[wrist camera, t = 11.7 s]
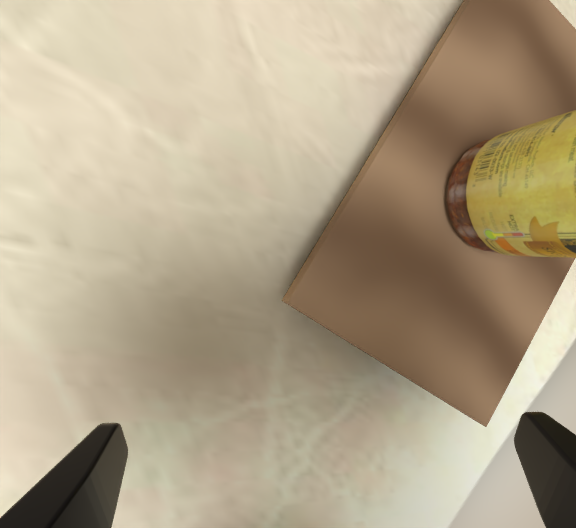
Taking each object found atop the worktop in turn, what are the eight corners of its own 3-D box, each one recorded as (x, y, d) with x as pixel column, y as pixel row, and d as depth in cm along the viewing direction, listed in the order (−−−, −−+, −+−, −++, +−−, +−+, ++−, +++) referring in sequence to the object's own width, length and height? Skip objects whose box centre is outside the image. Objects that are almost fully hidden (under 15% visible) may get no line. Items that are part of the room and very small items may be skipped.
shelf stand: (451, 406, 27) (486, 427, 24) (271, 295, 23) (287, 303, 20) (603, 125, 29) (651, 112, 26) (463, -19, 25) (501, -52, 22)
